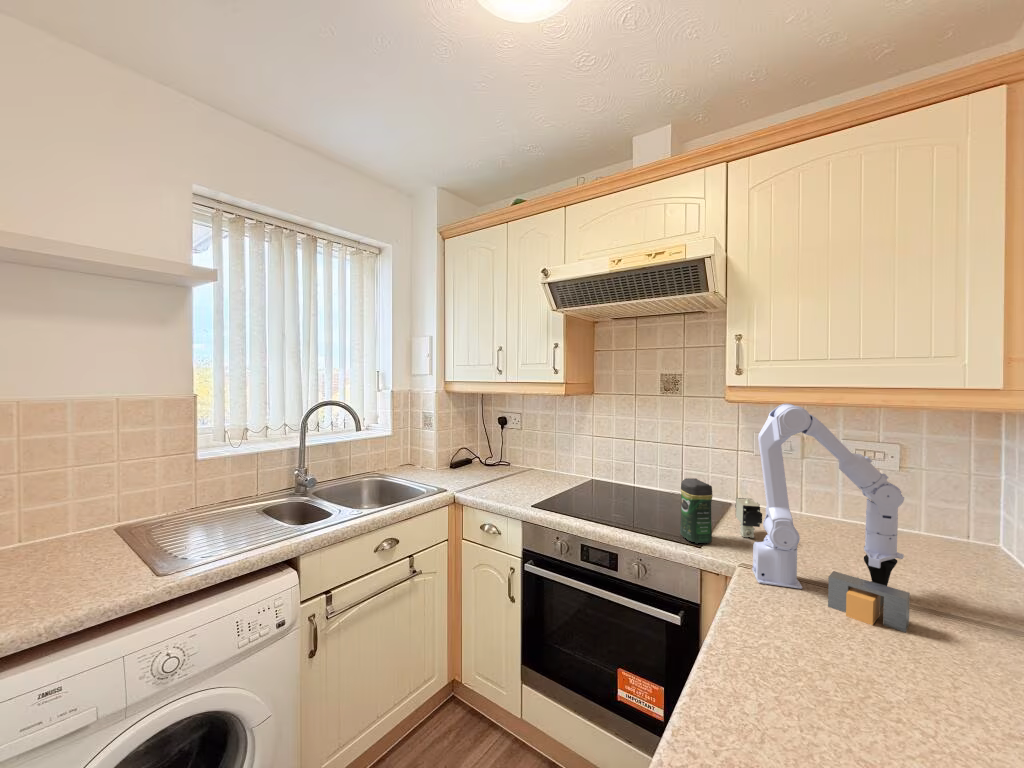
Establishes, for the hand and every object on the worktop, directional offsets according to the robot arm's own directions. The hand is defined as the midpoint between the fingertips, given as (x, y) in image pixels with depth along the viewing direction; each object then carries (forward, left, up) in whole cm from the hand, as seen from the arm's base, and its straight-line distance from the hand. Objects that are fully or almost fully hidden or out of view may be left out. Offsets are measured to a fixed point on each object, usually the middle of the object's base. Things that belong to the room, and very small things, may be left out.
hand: (879, 588), depth 103 cm
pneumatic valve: (-22, +31, -2) cm, 38 cm away
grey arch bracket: (-7, -12, -1) cm, 13 cm away
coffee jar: (-38, +23, -2) cm, 45 cm away
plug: (-5, -8, -1) cm, 9 cm away
